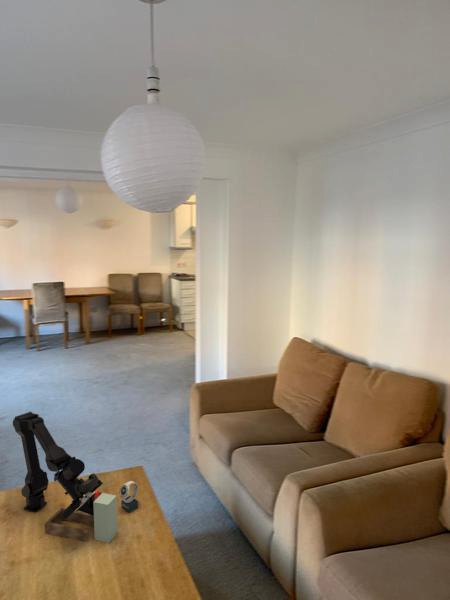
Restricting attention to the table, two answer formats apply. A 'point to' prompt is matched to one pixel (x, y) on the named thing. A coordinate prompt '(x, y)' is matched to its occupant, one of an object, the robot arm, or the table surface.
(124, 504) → the watch
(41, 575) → the table surface
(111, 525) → the block
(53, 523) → the brown rectangular frame
